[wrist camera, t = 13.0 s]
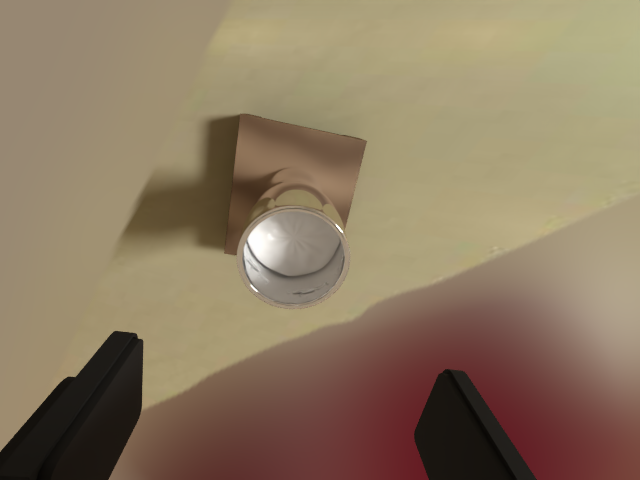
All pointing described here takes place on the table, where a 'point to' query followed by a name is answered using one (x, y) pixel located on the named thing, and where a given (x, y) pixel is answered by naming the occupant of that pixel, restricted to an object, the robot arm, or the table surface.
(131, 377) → the robot arm
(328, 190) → the walnut shelf
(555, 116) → the table surface
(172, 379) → the table surface
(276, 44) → the table surface
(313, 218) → the beer glass
